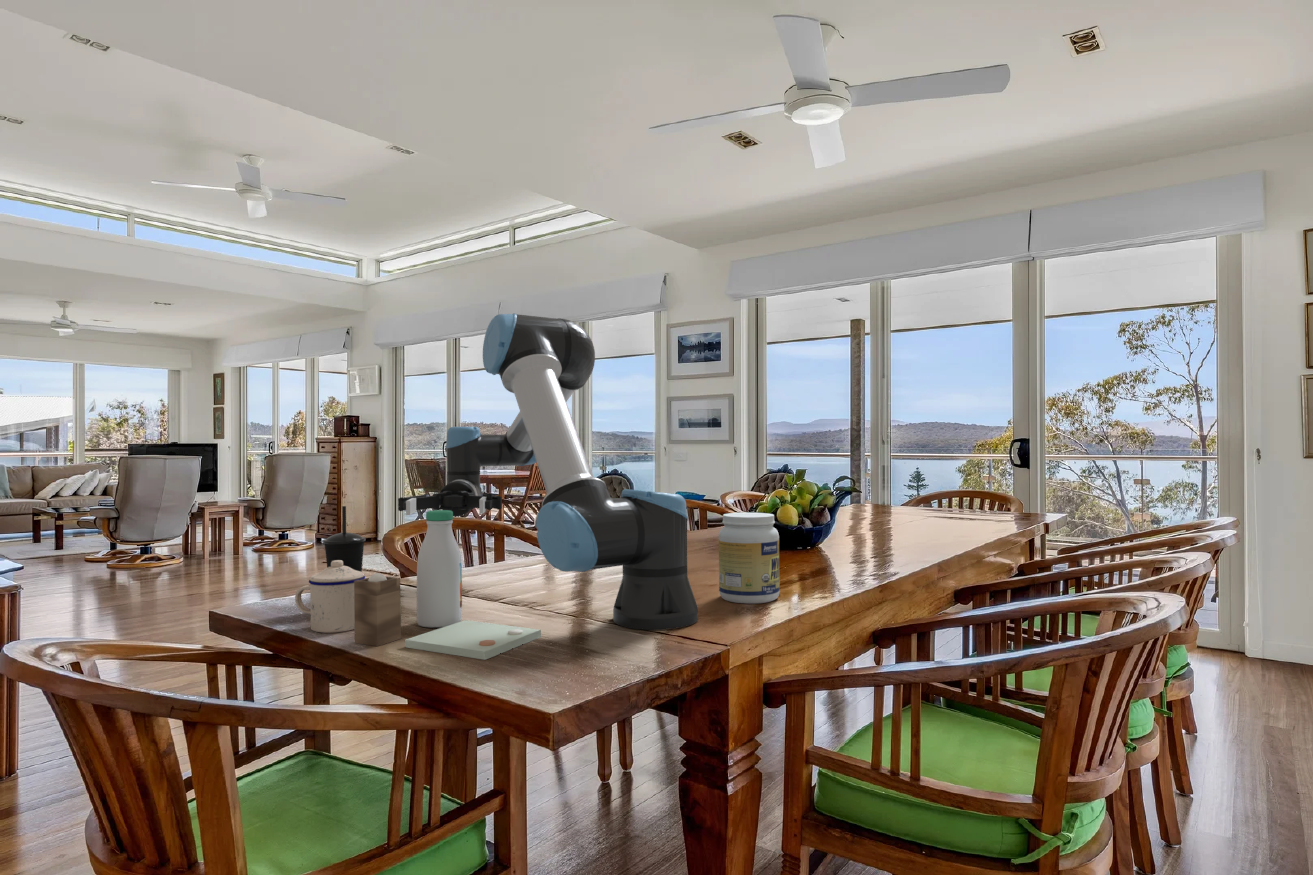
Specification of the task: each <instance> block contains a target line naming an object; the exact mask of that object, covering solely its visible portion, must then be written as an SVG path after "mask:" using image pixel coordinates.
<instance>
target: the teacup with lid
mask: <svg viewBox="0 0 1313 875" xmlns="http://www.w3.org/2000/svg"><path fill="white" fill-rule="evenodd" d="M365 578H366V575H365V574H364V572H363V571H362V572H361V571H356V570H354V569H352V568H350V567H348V566H343V561H342V560H335V561H332V562H331V567H328V568H327V567H326V568H324V569H323V570H322V571H319V572H317V573H315V574H314V573H313V574H312V575H311V576H310V577H309V580H308V584H307V585H304V586H301V587H299V588H298V589H297V590H296V592H295V595H294V600H295V604H296V607H297V609H298V610H299V611H301V612H302V613H303V614H307V615H310V629H311V631H312V632H315V633H319V634H320V633H321V634H323V633H324V634H335V633H343V632H349V631H353V630H355V619H354V581H356V580H361V579H365ZM309 584H310V585H309ZM305 590H306V591H310V594H309V595H310V596H309V597H310V608H308V607H307V606H305V604H304V603H303V601H302V594H303V592H304V591H305Z"/></svg>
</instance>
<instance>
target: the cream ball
mask: <svg viewBox="0 0 1313 875" xmlns="http://www.w3.org/2000/svg"><path fill="white" fill-rule="evenodd" d="M385 576H386V575H384V574H383V573H380V572H379V573H378V572H376V573H373V574H372V575H370V576H369V577H368V578H369V579H368V581H371V582H379V581H384V580H387V579H386V577H387V576H386V577H385Z"/></svg>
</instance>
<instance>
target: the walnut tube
mask: <svg viewBox="0 0 1313 875" xmlns="http://www.w3.org/2000/svg"><path fill="white" fill-rule="evenodd" d="M384 576H385V577H386V579H387V580H384V581H379V582H371V581H368V579H369V577H367V578H366V577H365V579H361V580H356V581H354V619H355V629H354V643H355V644H360V645H366V646H367V645H368V646H373V647H380V646H382V645H385V644H389V643H392V642H395V641H397V640H398V641H399V640H401V639H402V618H401V617H402V613H401V612H402V609H401V607H402V606H401V599H402V598H401V577H396V576H395V577H394V576H393V577H392V576H386V575H384Z"/></svg>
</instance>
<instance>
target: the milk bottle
mask: <svg viewBox="0 0 1313 875" xmlns="http://www.w3.org/2000/svg"><path fill="white" fill-rule="evenodd" d="M425 519H426V523H425V524H426V525H427V529H426V533H425V537H424V539H423V540H422V543H421V545H420V548H419V551H418V555H417V561H416V562H417V564H416V622H417V625H418V626H419V627H423V628H443V627H446V626H449V625H452V624H455V623H458V622H461V621H462V618H463V613H462V612H463V574H462V573H463V570H462V569H463V567H462V566H463V564H462V553H461V549H460V547H459V544H458V541H457V540H456V537H455V536H454V531H453V528H452V527H453V526H452V524H453V523H454V521H453V520H454V516H453V512H452V511H450V510H433V509H432V510H428V511H426V514H425Z"/></svg>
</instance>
